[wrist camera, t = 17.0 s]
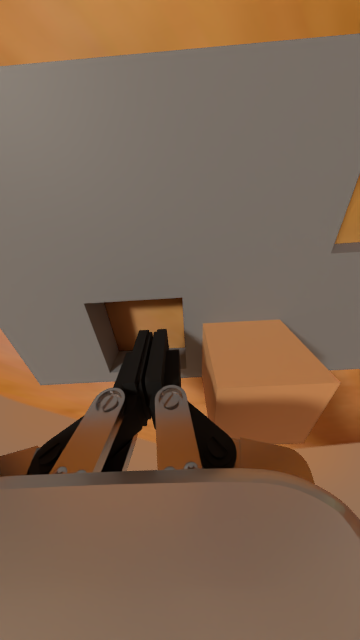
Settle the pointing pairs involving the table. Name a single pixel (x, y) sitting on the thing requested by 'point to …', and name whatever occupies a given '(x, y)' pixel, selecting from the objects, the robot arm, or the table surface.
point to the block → (263, 381)
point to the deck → (179, 198)
